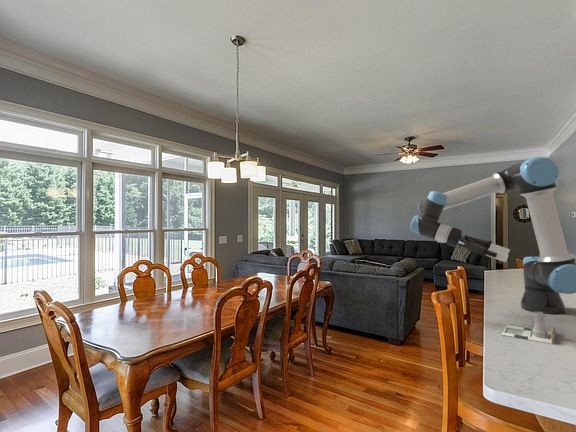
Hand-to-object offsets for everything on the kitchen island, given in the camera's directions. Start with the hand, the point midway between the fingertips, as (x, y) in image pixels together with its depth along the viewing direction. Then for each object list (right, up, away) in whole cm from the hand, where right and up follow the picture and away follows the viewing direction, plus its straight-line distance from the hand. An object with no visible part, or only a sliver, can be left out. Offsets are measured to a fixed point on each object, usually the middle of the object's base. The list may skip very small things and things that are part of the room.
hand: (508, 255), depth 120 cm
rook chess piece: (+3, -26, -11) cm, 29 cm away
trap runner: (+1, -26, -9) cm, 28 cm away
